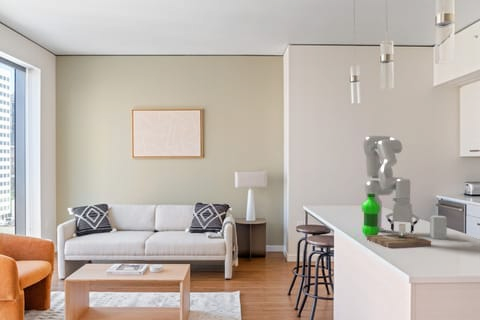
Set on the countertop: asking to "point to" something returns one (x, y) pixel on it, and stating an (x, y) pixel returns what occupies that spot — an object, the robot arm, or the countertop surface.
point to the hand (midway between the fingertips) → (402, 231)
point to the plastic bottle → (370, 216)
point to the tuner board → (398, 240)
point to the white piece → (402, 229)
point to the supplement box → (438, 227)
